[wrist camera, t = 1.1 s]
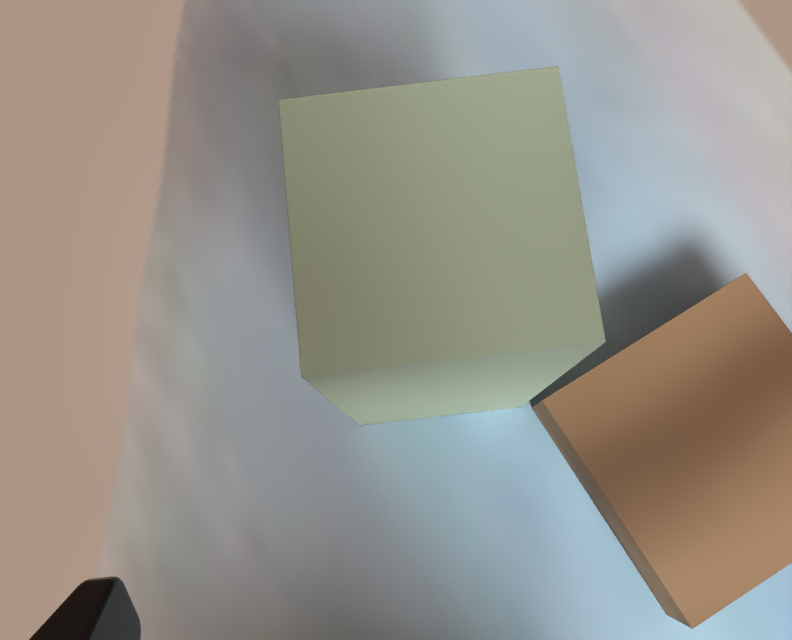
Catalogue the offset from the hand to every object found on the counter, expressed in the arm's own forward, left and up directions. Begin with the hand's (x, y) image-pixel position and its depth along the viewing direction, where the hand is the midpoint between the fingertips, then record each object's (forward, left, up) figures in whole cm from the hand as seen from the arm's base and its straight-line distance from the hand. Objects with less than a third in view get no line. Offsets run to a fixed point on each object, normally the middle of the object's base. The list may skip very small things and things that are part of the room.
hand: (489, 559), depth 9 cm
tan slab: (-2, -7, -14) cm, 16 cm away
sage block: (+5, -2, -13) cm, 15 cm away
